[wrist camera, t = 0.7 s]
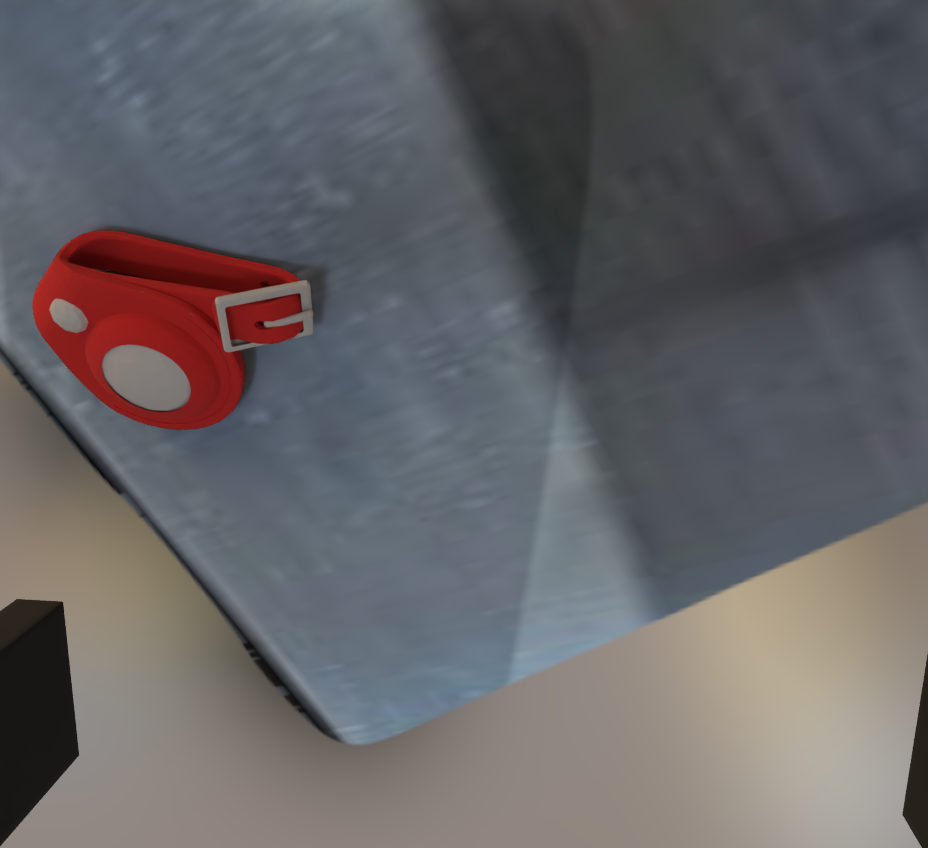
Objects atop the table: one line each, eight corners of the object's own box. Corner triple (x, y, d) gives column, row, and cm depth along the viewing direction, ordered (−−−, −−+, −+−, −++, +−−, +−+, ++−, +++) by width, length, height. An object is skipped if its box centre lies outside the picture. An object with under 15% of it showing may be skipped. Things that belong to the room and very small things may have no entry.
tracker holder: (189, 476, 41) (-15, 361, 37) (220, 412, 44) (34, 299, 40) (328, 337, 34) (92, 175, 30) (352, 272, 37) (141, 118, 33)
